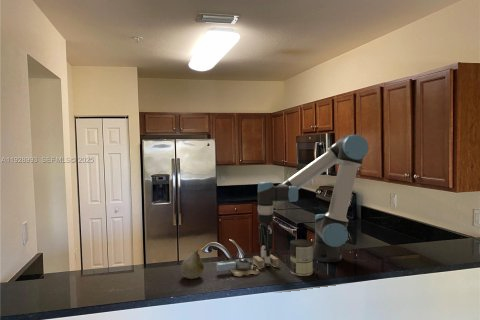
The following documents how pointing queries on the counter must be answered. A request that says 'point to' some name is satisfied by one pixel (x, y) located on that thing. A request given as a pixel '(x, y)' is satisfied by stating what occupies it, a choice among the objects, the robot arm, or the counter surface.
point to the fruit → (192, 266)
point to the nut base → (245, 271)
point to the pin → (263, 255)
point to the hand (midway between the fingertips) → (265, 261)
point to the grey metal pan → (235, 265)
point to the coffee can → (301, 257)
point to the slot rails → (260, 262)
